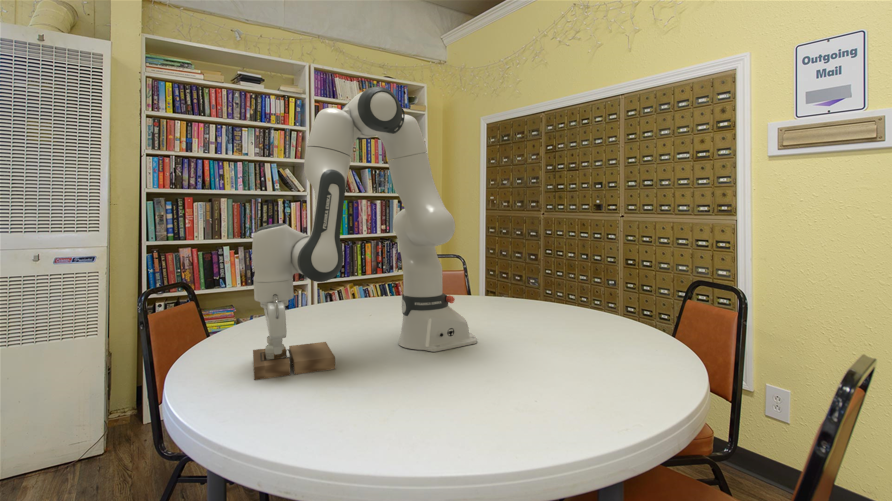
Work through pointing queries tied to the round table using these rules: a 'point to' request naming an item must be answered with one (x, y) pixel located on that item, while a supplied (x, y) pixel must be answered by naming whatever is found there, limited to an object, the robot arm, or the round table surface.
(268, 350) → the pill bottle
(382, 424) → the round table surface
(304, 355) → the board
